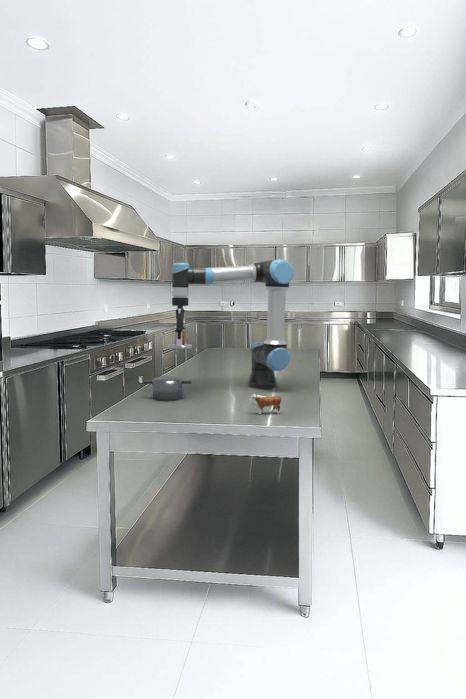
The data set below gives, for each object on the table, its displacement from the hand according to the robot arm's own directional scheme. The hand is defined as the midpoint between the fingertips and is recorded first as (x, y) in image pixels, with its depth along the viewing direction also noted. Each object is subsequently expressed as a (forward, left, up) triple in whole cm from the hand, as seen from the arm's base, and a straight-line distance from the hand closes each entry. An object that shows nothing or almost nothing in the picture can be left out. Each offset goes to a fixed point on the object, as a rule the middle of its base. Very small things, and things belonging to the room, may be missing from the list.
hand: (179, 344), depth 255 cm
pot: (+6, 0, -25) cm, 26 cm away
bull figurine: (-37, +31, -25) cm, 55 cm away
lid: (0, 0, -2) cm, 2 cm away
